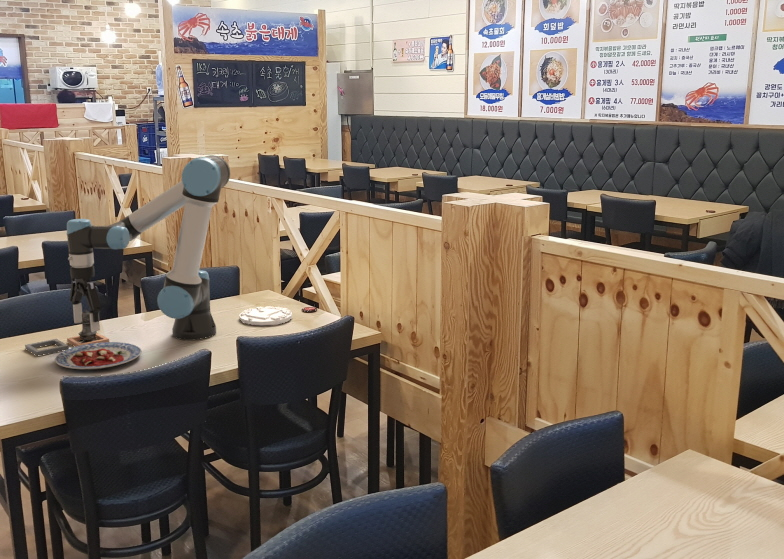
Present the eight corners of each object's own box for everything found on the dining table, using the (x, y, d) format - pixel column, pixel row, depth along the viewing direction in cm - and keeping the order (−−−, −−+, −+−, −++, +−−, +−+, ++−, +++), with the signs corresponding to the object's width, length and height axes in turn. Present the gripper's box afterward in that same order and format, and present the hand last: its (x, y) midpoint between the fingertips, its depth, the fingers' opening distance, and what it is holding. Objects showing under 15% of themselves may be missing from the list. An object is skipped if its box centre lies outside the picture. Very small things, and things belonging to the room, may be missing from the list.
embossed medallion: (230, 319, 293) (229, 311, 292) (273, 310, 305) (273, 303, 305) (257, 330, 278) (257, 322, 277) (302, 320, 291) (301, 313, 290)
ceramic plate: (55, 379, 226) (54, 370, 226) (55, 353, 249) (54, 345, 249) (145, 368, 237) (145, 359, 236) (137, 344, 260) (136, 336, 259)
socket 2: (109, 343, 260) (109, 338, 260) (79, 349, 253) (79, 345, 253) (96, 336, 267) (96, 332, 267) (67, 342, 260) (66, 338, 260)
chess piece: (91, 346, 257) (88, 311, 254) (75, 344, 258) (72, 310, 255) (101, 340, 263) (98, 307, 260) (85, 339, 264) (82, 306, 261)
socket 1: (68, 349, 253) (68, 345, 252) (37, 356, 246) (36, 352, 245) (56, 342, 260) (56, 338, 259) (25, 349, 253) (25, 344, 253)
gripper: (55, 261, 260) (61, 321, 265) (86, 273, 243) (91, 336, 248) (77, 258, 265) (82, 317, 270) (109, 269, 248) (113, 332, 253)
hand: (87, 326), depth 259 cm, fingers open, 13 cm apart
